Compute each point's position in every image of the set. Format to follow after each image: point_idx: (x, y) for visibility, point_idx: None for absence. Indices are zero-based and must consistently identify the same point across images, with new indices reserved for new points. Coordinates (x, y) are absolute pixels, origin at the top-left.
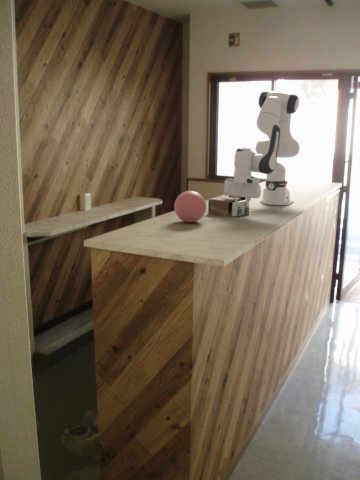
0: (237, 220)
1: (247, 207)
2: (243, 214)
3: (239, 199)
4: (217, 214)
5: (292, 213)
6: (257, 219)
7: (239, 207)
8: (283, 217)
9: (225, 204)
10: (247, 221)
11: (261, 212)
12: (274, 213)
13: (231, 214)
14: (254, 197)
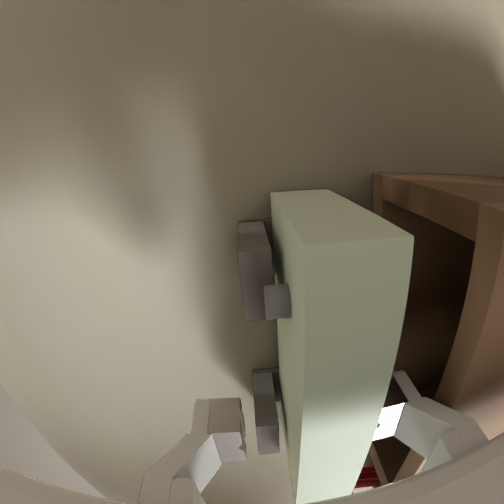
0: (134, 33)
1: (256, 432)
2: None
3: None
4: (476, 176)
5: (108, 499)
6: (36, 240)
7: (264, 291)
8: (30, 412)
9: (492, 196)
10: (39, 78)
11: (234, 479)
12: None
13: None
14: (15, 479)
